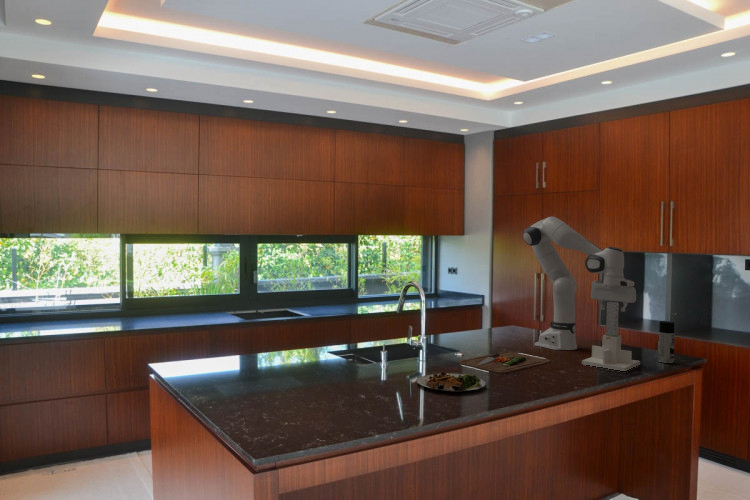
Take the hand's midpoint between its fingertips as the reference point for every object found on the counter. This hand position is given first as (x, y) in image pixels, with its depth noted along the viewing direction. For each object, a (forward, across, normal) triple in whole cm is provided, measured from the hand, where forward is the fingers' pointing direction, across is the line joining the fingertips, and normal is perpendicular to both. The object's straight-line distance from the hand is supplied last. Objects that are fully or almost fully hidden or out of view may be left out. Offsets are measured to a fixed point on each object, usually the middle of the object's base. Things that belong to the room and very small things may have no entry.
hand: (612, 310), depth 273 cm
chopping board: (+27, -38, -33) cm, 57 cm away
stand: (+26, 0, 0) cm, 26 cm away
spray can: (+26, +17, +25) cm, 40 cm away
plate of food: (+27, -32, -85) cm, 95 cm away
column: (+14, 0, 0) cm, 14 cm away
